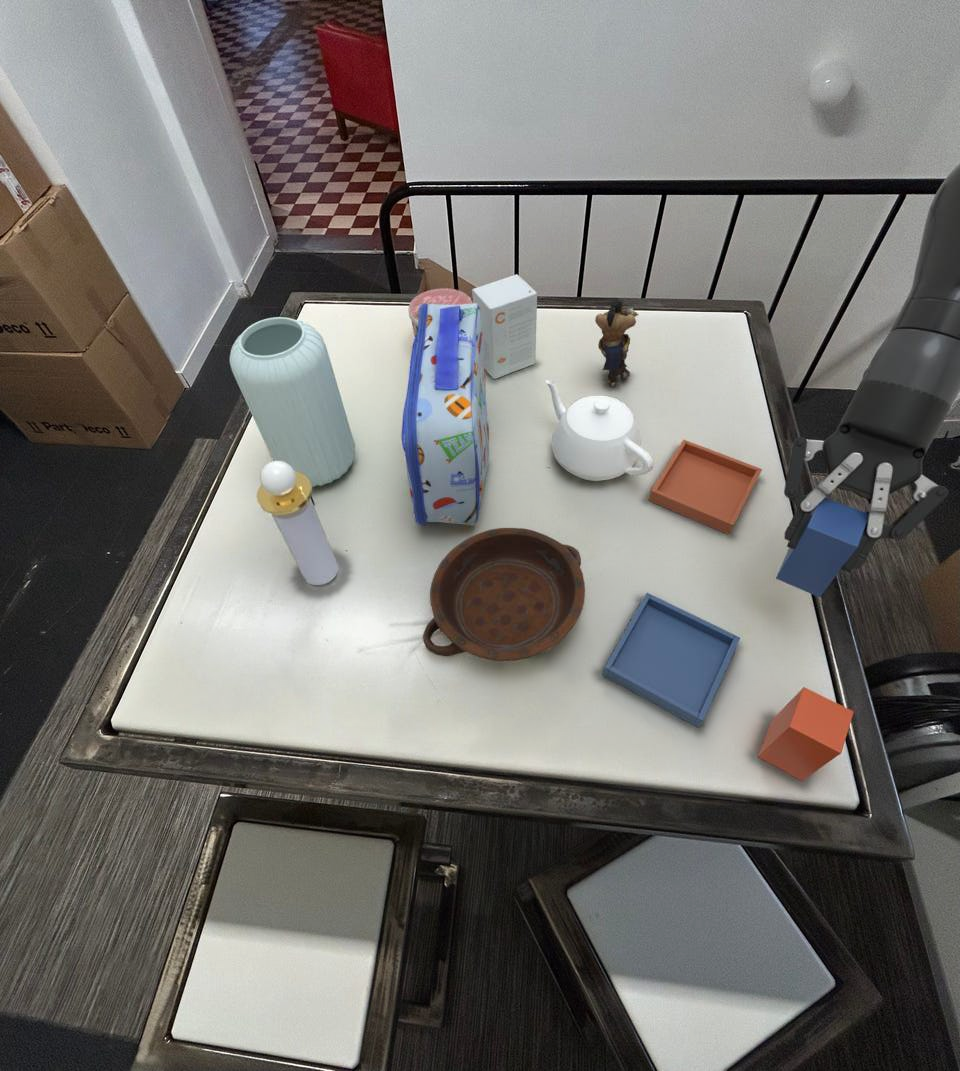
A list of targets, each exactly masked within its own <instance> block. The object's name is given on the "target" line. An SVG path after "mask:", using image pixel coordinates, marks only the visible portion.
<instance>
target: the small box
mask: <svg viewBox="0 0 960 1071" xmlns="http://www.w3.org/2000/svg"><path fill="white" fill-rule="evenodd" d="M471 294H472V295H471V296H472V303H477V304H478V305H479V308H480V313H481V319H482V331H483V339H484V359H485V366H484V370H485V371H486V372H487V373H488V374H489V376H490V377H491V378H492V379H493V380H496V379H498V378H501V377H504V376H506V375H509V374H512V373H514V372H518V371H520V370H522V369H525V368H528V367H530V366H532V365H535V364H536V357H537V356H536V354H537V353H536V351H537V319H538V318H537V314H538V313H537V312H538V309H537V308H538V292H536V291H535V289H534V288H532V287H531V285H529V283H527V282H526V281H525V280H524V279H523V278H522V277H521V276H520V275H518V274H517V273H516V274H513V275H511V276H507V277H504V278H501V279H498V280H495V281H492V282H489V283H486V284H484V285H483V284H482V285H480V286H478V287H475V288H472V289H471Z"/></svg>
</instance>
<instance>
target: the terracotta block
mask: <svg viewBox="0 0 960 1071" xmlns="http://www.w3.org/2000/svg"><path fill="white" fill-rule="evenodd" d="M854 713H855V711H853V710H852V709H849V708H847V707H845V706H844V705H841V704H839V703H838V702H835V701H833V700H831V699H829V698H827V697H826V696H823V695H821V694H819V693H817V692H815V691H813V690H811V689H809V688H807V687H805V686H804V687H802V688H801V689H800V690H799V691H798V692H797V693H796V694H795V695H794V696H793V698H792V699H791V700H789V702H788V703H787V704H786V705H785V706H784V707H783V708H782V709H781V710H780V711H779V712H778V713H777V714H776V715H775V716H774V717H773V718H772V719H771V721H770V724H769V726H768V729H767V731H766V734H765V736H764V739H763V742H762V744H761V747H760V749H759V753H758V754H757V758H759V759H761V760H763V761H765V762H766V763H769V764H771V765H772V766H774V767H776V768H778V769H780V770H782V771H783V772H784V773H786V774H788V775H790V776H792V777H795V778H796V779H797V780H799V781H802V782H803V781H805V780H806V779H807V778H809V777H810V776H812V775H813V774H814V773H816V772H817V771H818V770H820V769H822V768H823V767H824V766H826V765H828V764H829V763H830V762H831V761H833V760H834V759H836V757H837V758H838V756H840V755H841V754H842V752H843V749H844V745H845V742H846V739H847V736H848V732H849V729H850V726H851V723H852V719H853V717H854Z"/></svg>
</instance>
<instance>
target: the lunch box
mask: <svg viewBox="0 0 960 1071" xmlns="http://www.w3.org/2000/svg"><path fill="white" fill-rule="evenodd" d="M414 327H415V331H416V336H414V339H413V342H412V347H411V355H410V360H409V361H410V362H409V371H408V372H409V373H408V382H407V389H406V394H405V395H406V396H405V401H404V405H403V412H402V421H401V422H402V423H401V424H402V425H401V446H402V449H403V452H404V456H405V464H406V465H405V466H406V476H407V482H408V488H409V493H410V498H411V499H410V500H411V504H412V511H413V515H414V520H415V523H416V524H417V525H418V526H420V527H425V526H426V525H427V523H444V524H445V523H447V524H455V525H468V526H475V524H477V522H478V521H479V515H480V510H481V507H482V501H483V494H484V488H485V482H486V477H487V470H488V465H489V454H490V432H489V431H490V429H489V427H490V426H489V418H488V408H487V396H486V394H487V393H486V391H487V389H486V372H485V371H486V369H485V368H484V366H485V359H484V339H483V331H482V319H481V313H480V308H479V305H478V304H477V303H473V302H472V303H469V304H463V305H437V304H425V303H424V304H423V305H421V306H420V307H419V311H418V327H417V326H416V325H414Z"/></svg>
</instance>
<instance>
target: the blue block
mask: <svg viewBox="0 0 960 1071" xmlns="http://www.w3.org/2000/svg"><path fill="white" fill-rule="evenodd" d="M810 515H812V516H811V518H810V520H809V522H808V524H807V526H806V527H805V529H804V531H803V533H802V535H801V537H800V539H799V541H798V544H797V546H796V548H795V549H791V548H789V547H788V549H787V551H786V554H785V556H784V558H783V560H782V562H781V565H780V566H779V569H778V572H777V574H776V576H775V579H776V580H777V581H780V582H782V583H785V584H787V585H789V586H791V587H794V588H796V589H799V590H800V591H803V592H805V593H808V594H810V595H813V596H815V597H817V598H820V597H822V595H823V594H824V592H825V591H826V590H827V589H828V587H830V585H831V583H832V582H833V580H834V579H835V578H836V577H837V575H838V574H839V573H840V571H841V568H842V567H843V566H844V564H845V563H846V562H847V561H848V559H849V558H850V557H851V555H852V554H853V553H854V552H855V550H856V549H857V548H858V546H859V543H860V540H861V537H862V535H863V532H864V529H865V526H866V523H867V521H868V515H869V514H868V513H866V511H865V512H864V511H862V510H859V509H857V508H854V507H851V506H849V505H846V504H845V503H844V504H843V503H840V502H838V501H836V500H833V499H830V498H828V497H825V498H824V499H823V500H822V501H821V502H820V503H819V504H818V505H817V506H816V507H815V508H814V509H813V510H812V512H811V514H810Z"/></svg>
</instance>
